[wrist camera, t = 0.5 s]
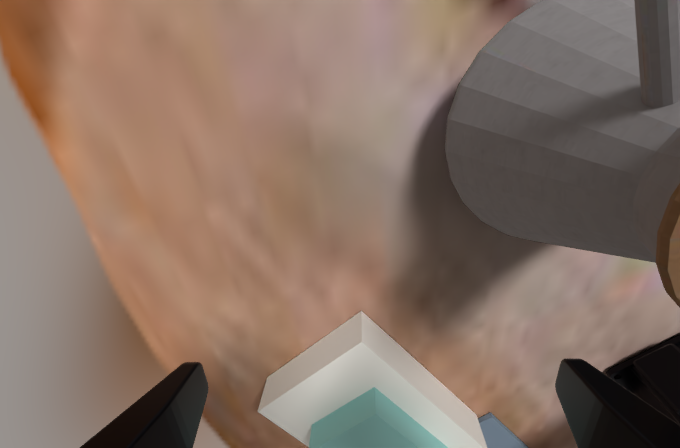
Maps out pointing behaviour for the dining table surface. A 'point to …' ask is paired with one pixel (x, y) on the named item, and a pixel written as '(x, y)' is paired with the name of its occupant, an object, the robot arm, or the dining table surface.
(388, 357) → the block
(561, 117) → the coffee pot
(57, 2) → the dining table surface
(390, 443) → the teal rectangular block
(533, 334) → the dining table surface
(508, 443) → the mat
